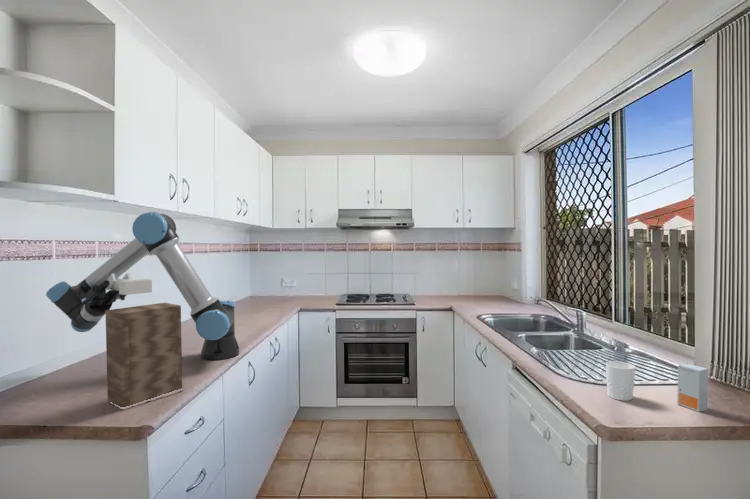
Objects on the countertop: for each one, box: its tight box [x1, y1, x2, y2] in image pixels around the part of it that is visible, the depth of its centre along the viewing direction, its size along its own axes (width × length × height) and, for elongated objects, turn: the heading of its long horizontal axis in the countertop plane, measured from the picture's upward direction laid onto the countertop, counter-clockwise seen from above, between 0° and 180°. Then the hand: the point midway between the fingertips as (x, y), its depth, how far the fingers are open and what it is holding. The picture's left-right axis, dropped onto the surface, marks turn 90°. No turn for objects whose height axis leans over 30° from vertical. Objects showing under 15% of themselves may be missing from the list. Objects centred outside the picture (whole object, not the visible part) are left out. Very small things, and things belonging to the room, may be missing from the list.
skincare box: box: [676, 362, 710, 413], centre depth 123 cm, size 6×4×12 cm
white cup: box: [605, 360, 636, 402], centre depth 131 cm, size 8×8×10 cm
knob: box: [109, 277, 153, 296], centre depth 137 cm, size 18×8×4 cm, turn 54°
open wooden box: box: [105, 302, 183, 407], centre depth 132 cm, size 18×10×28 cm, turn 144°
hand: (121, 276), depth 138 cm, fingers closed on knob, 4 cm apart
